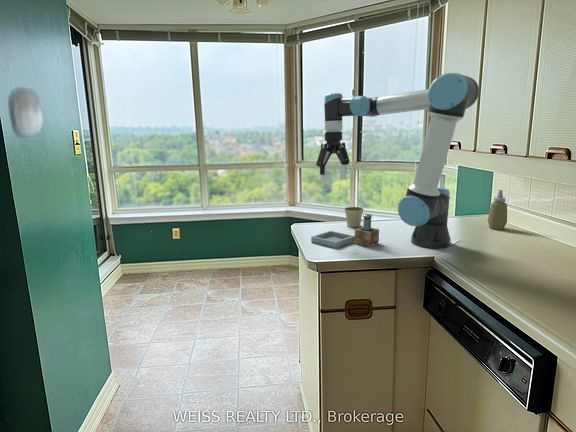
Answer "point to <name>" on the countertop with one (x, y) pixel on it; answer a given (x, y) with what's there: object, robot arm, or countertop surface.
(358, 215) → the flower pot
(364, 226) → the post
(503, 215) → the squeeze bottle
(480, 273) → the countertop surface
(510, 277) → the countertop surface
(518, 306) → the countertop surface
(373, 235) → the brown wooden box
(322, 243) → the tray
